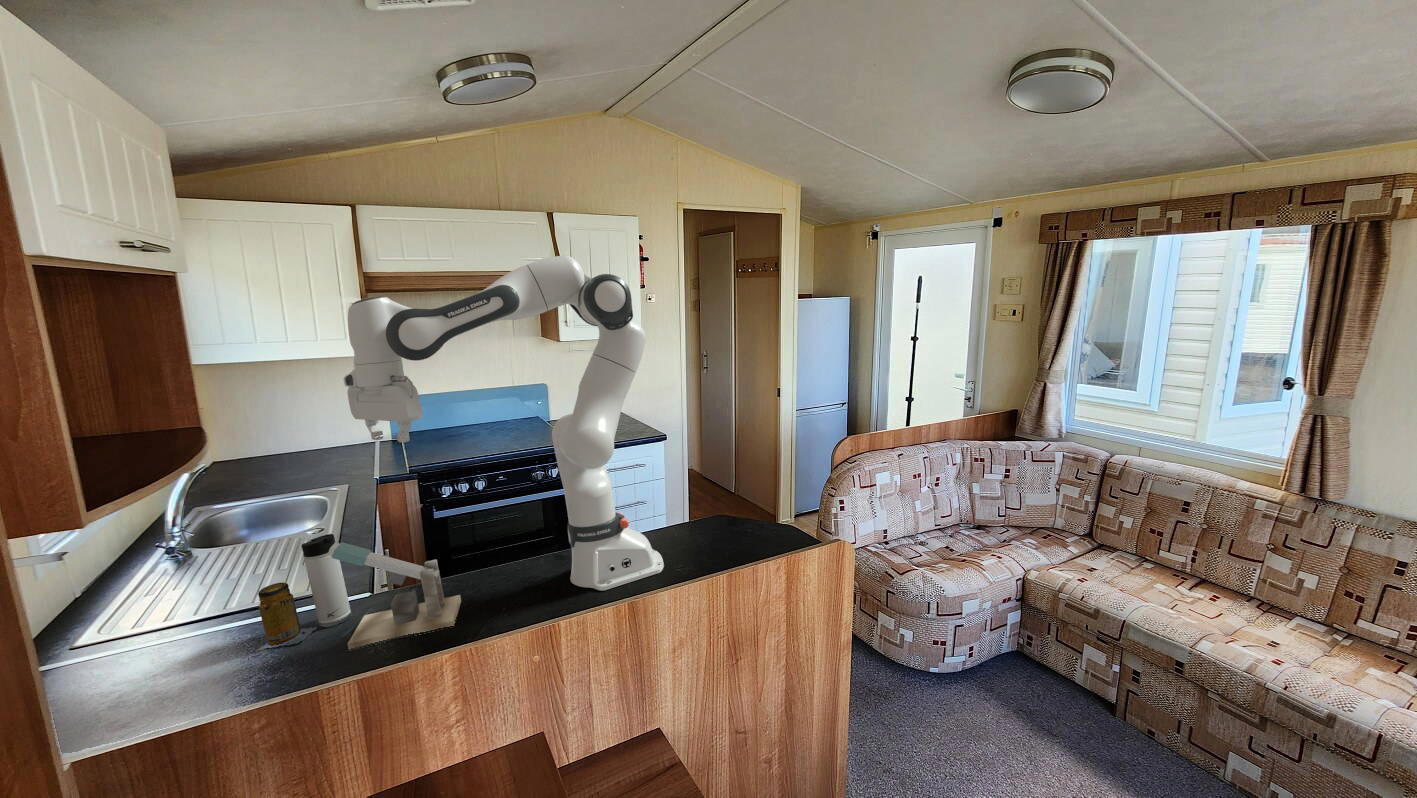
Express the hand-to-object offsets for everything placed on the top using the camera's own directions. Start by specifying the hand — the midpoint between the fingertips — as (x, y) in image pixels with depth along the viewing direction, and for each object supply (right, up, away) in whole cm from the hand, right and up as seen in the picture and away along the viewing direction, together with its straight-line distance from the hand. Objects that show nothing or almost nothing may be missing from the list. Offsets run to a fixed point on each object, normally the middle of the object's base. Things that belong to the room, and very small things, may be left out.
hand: (390, 440), depth 124 cm
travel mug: (-17, -42, +8) cm, 45 cm away
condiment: (-23, -43, +2) cm, 49 cm away
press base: (+2, -40, +3) cm, 40 cm away
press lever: (-2, -29, 0) cm, 29 cm away
